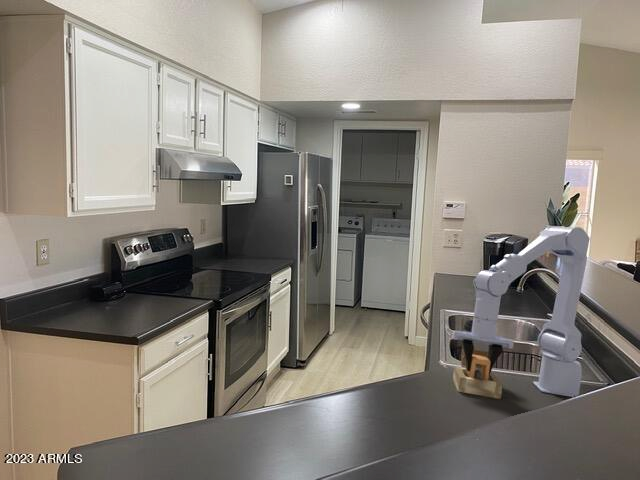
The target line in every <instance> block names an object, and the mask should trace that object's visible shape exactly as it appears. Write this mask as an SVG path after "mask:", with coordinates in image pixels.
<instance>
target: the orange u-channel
mask: <svg viewBox="0 0 640 480" xmlns="http://www.w3.org/2000/svg"><path fill="white" fill-rule="evenodd" d="M476 364H482V369H481V374H482V375H483V377H484V379H483V380H488V376H489V369H490V360H489V359H488V358H487V357H485V356H479V355H473V354H472V360H471V369H470V371H467V374H468V376H469V377H471V378H474V373H475V366H476Z"/></svg>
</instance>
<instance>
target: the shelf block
mask: <svg viewBox="0 0 640 480" xmlns="http://www.w3.org/2000/svg"><path fill="white" fill-rule="evenodd" d="M483 379H484V377H483V375H482V374H481V371H480V370H479V369H478V368H477V366H475V373H474V378H471V377H469V376H468V374H467V369H466V368H462V367H461V366H454V368H453V376H452V382H453V383H454V385H455V387H456V390H457V392H459V393H466V394H471V395H476V396H481V397H486V398H487V397H488V398H491V399H492V398H493V399H501V398H502V393H503V391H502V390H503V387H504V386H503V383H502V382H501V381H500V379H499V378H498V377H497V374H496V373H494V372H493V371H491V373H490V375H489V376H488V380H483Z"/></svg>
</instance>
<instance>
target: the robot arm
mask: <svg viewBox="0 0 640 480" xmlns="http://www.w3.org/2000/svg"><path fill="white" fill-rule="evenodd" d="M589 243H590V236H589V235H588V233H587V232H586V230H585V229H584V228H582V227H580V226H575V227H568V226H556V225H550V226H548V227H546V228H545V229H544V230H541V231H540V232H539V236H538V237H536V238H535V239H534V240H533V241H532V242H531V243H529V244H528V245H526V247H525V248H523V249H522V250H521V251H519V253H517V254H515V253H509V254H508V253H507V254H505V255H504V256H503V259H502V260H500V261H499V262H497V263H496V264H492V265H491V266H490V268H489V269H488V270H484V269H483V270H482V271H480V272H479V273H477V275H476V276H475V279H473V281H472V283H473V287H474V289H475V305H474V313H473V317H472V320H473V325H472V332H464V330H463V331H462V330H461V331H460V330H452V337H451V338H452V339H453V340H456V341H457V340H459V341H460V340H461V341H460V342H461V346H462V345H463V348H464V352H465V357H466V369H467V371H470V369H471V360H472V354H473V350H474V346H473V343H472V342H477V343H483V344H489V350H488V359H489V360H490V369H489V375H490V373H491V372H492V369H493V367H494V365H495V364H496V362H497V360H498V359H499V357H500V356H501V355H502V354H503V351H504V348H508V349H511V350H512V349H514V343H515V341H514V340H513V339H511V338H510V339H509V338H504V337H500V336H496V333H497V328H498V320H499V312H500V307H501V298H502V295H504V294H506V293H507V292H508V289H509V286H510V285H511V283H513V282H514V281H515V280H516V279H517V278H519V277H520V276H522V275H523V274H524V273H526V272H527V268H528V265H529V264H530V263H532V262H533V261H535V260H537V259H538V258H540V257H541V256H544V255H545V254H546V253H548V252H551V253H553V254H554V255H556V256H557V258H559V260H560V261H561V263H562V264H561V271H560V275H559V281H558V287H557V292H556V297H555V301H554V304H553V305H554V306H553V311H552V316H551V319H550V320H549V321H546V322H545V323H543V325H542V329H541V332H540V333H539V335H538V337H537V346H538V349H540V354H542V355H541V363H540V369H539V377H538V381H532V383H533V384H534V386H535V387H537V389H538V390H540V392H543V393H546V394H552V395H559V396H565V397H570V398H575V397H574V396H577V395H579V396H580V389H581V383H582V382H581V381H582V373H583V371H582V364H581V363H580V362H579V361H578V360H577V359H578V358H579V356H580V355H581V353H582V350H583V349H582V333H581V331H580V330H579V329H578V328H577V326H576V325H575V323H576V322H575V321H576V318H577V317H576V316H577V312H578V307H579V302H580V298H581V297H580V296H581V291H582V286H583V281H584V276H585V272H586V267H587V261H588V255H587V254H588V250H589ZM475 339H476V340H475ZM479 340H480V341H479Z"/></svg>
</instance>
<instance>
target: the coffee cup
mask: <svg viewBox="0 0 640 480" xmlns="http://www.w3.org/2000/svg"><path fill="white" fill-rule="evenodd" d="M472 325H473V319H468V320H466V321H465V323H464V324H463V328H462V329H463V332H472ZM475 340H476V339H475ZM479 341H480V340H479ZM472 343H473V346H474V350H473V355H479V356H485V357H487V358H488V350H489V344H483V343H477V342H472ZM460 363H461V364H460V367H462V368H466V357H465V352H464V348H463V345H462V344H461V360H460ZM476 366H477V368H478V369H479V370H480V371H481V369H482V364H476Z"/></svg>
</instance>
